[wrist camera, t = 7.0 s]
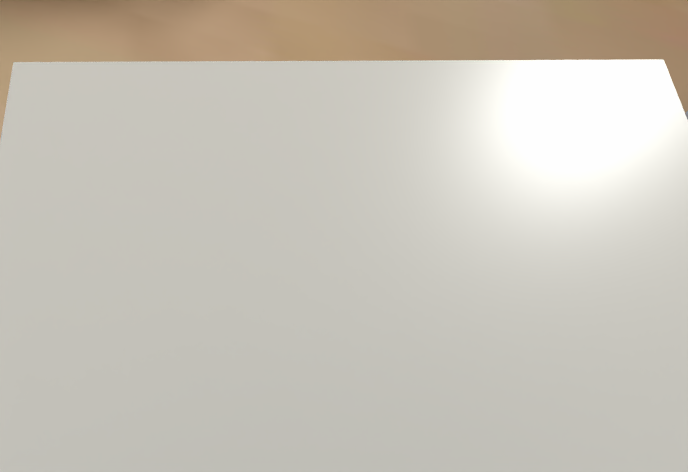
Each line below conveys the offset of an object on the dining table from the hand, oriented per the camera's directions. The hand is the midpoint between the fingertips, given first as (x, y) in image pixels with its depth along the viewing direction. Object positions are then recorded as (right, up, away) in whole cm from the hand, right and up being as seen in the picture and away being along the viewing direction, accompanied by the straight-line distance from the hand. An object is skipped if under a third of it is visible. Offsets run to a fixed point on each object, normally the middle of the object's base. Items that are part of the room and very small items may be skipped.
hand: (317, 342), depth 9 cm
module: (-1, -4, +6) cm, 7 cm away
